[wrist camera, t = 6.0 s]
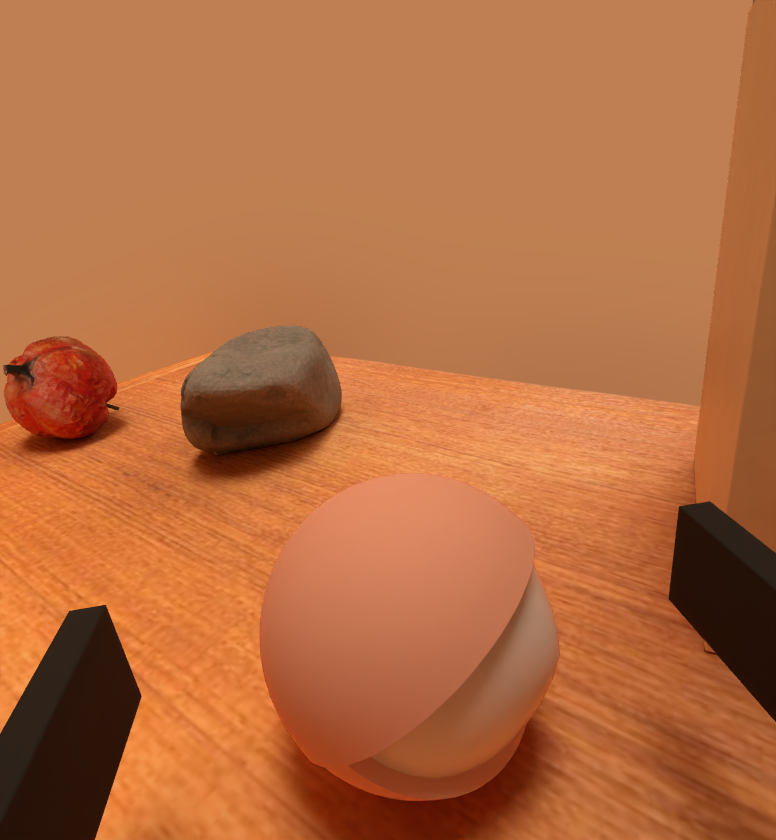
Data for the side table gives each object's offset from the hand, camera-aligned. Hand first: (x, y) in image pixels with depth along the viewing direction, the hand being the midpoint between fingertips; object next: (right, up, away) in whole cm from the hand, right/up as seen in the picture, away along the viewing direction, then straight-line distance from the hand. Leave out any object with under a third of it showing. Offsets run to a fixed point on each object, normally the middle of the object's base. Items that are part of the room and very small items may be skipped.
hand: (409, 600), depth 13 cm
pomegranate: (-23, +3, +29) cm, 37 cm away
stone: (-8, +3, +24) cm, 25 cm away
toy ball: (+1, -5, +4) cm, 6 cm away
